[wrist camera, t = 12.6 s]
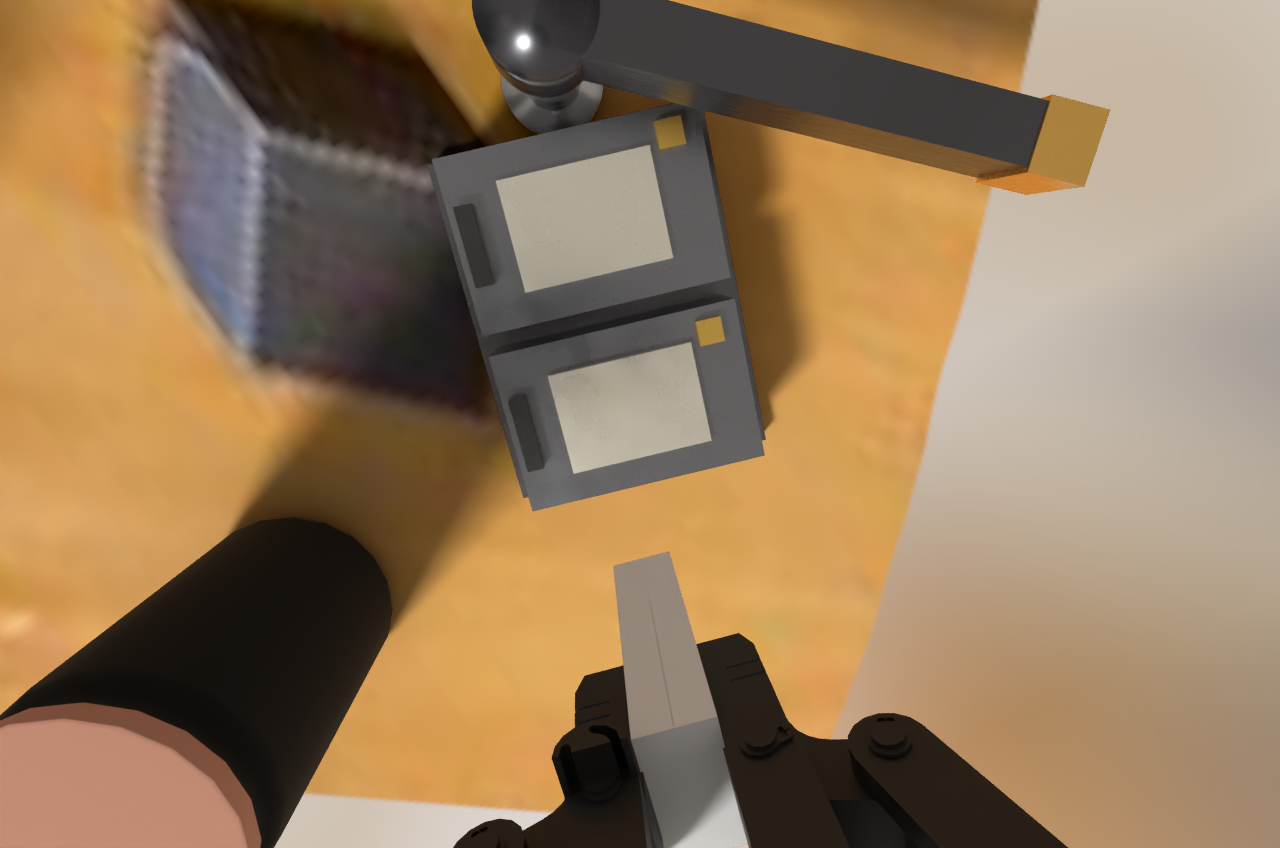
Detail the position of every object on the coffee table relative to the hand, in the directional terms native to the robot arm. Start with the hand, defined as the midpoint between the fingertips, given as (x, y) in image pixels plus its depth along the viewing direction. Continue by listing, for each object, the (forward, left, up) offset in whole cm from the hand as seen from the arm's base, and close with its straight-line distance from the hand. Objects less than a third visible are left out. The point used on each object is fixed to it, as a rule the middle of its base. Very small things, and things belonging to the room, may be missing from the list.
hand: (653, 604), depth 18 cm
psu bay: (+1, +6, -21) cm, 22 cm away
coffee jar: (-20, -6, -22) cm, 30 cm away
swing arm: (+10, +14, -14) cm, 21 cm away
